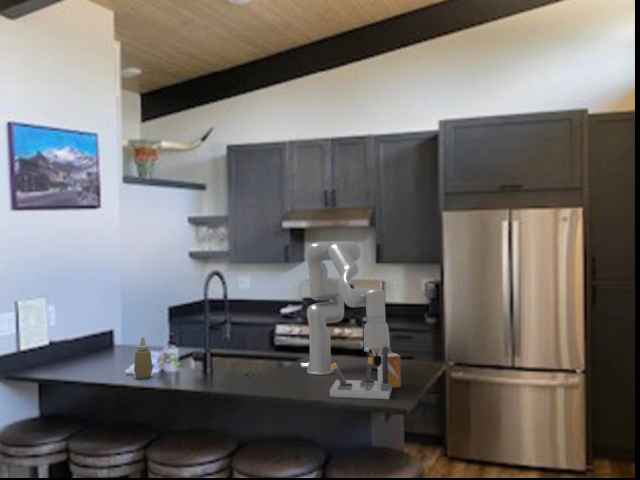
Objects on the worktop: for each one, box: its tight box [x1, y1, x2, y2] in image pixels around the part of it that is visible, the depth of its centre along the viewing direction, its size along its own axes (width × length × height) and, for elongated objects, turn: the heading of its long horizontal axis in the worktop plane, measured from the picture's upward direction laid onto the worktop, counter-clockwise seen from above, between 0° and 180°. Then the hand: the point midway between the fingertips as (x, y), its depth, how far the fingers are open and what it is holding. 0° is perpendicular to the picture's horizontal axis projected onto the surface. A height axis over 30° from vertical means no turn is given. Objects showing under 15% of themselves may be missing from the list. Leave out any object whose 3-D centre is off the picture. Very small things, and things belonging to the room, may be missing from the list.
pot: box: [368, 349, 394, 371], centre depth 305 cm, size 12×12×10 cm
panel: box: [329, 378, 393, 400], centre depth 262 cm, size 23×16×4 cm
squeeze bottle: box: [133, 337, 153, 380], centre depth 294 cm, size 8×8×18 cm
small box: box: [377, 352, 402, 388], centre depth 273 cm, size 8×6×13 cm
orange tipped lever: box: [331, 362, 347, 386], centre depth 259 cm, size 2×3×9 cm, turn 169°
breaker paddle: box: [365, 357, 373, 382], centre depth 264 cm, size 2×3×9 cm, turn 170°
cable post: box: [381, 347, 390, 390], centre depth 255 cm, size 3×3×16 cm
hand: (377, 365), depth 263 cm, fingers closed
